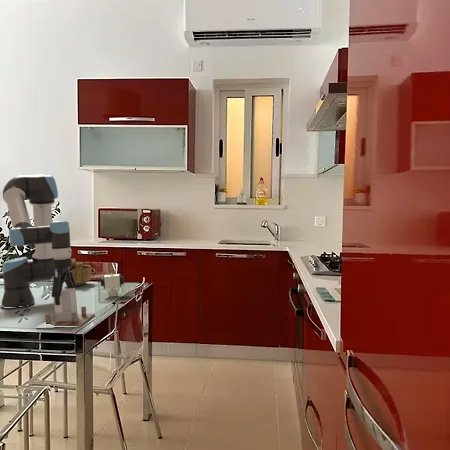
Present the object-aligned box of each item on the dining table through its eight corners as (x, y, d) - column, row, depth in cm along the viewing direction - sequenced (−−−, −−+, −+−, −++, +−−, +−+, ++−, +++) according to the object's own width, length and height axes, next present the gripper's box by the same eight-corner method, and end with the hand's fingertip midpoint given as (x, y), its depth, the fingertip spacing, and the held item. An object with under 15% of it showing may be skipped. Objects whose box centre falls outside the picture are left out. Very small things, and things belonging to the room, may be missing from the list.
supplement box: (78, 316, 204) (76, 287, 203) (72, 321, 197) (70, 291, 196) (61, 317, 204) (58, 288, 204) (54, 322, 197) (52, 292, 196)
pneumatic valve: (124, 295, 249) (123, 272, 248) (101, 298, 246) (99, 274, 245) (124, 293, 254) (123, 271, 253) (101, 295, 251) (100, 273, 250)
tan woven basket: (59, 284, 292) (57, 260, 291) (87, 280, 301) (86, 257, 300) (66, 290, 273) (64, 264, 272) (96, 286, 281) (94, 260, 280)
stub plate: (36, 329, 192) (35, 316, 192) (54, 317, 210) (53, 306, 210) (80, 327, 191) (79, 315, 191) (94, 315, 209) (94, 304, 208)
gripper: (58, 262, 186) (62, 315, 187) (81, 253, 211) (84, 301, 212) (39, 263, 186) (44, 316, 188) (64, 254, 211) (68, 301, 213)
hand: (65, 308), depth 200 cm, fingers open, 13 cm apart
